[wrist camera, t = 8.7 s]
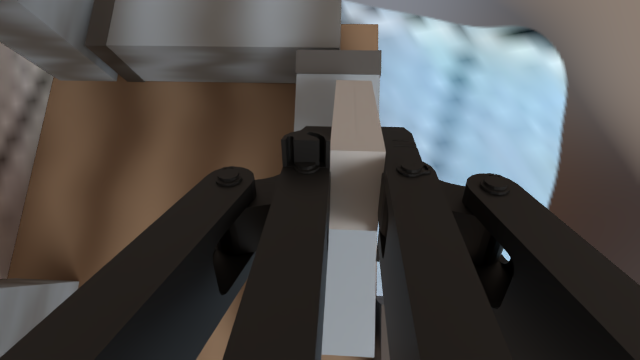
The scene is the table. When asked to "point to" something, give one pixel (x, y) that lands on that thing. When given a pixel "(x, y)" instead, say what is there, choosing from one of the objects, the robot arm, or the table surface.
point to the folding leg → (344, 245)
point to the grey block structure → (151, 127)
